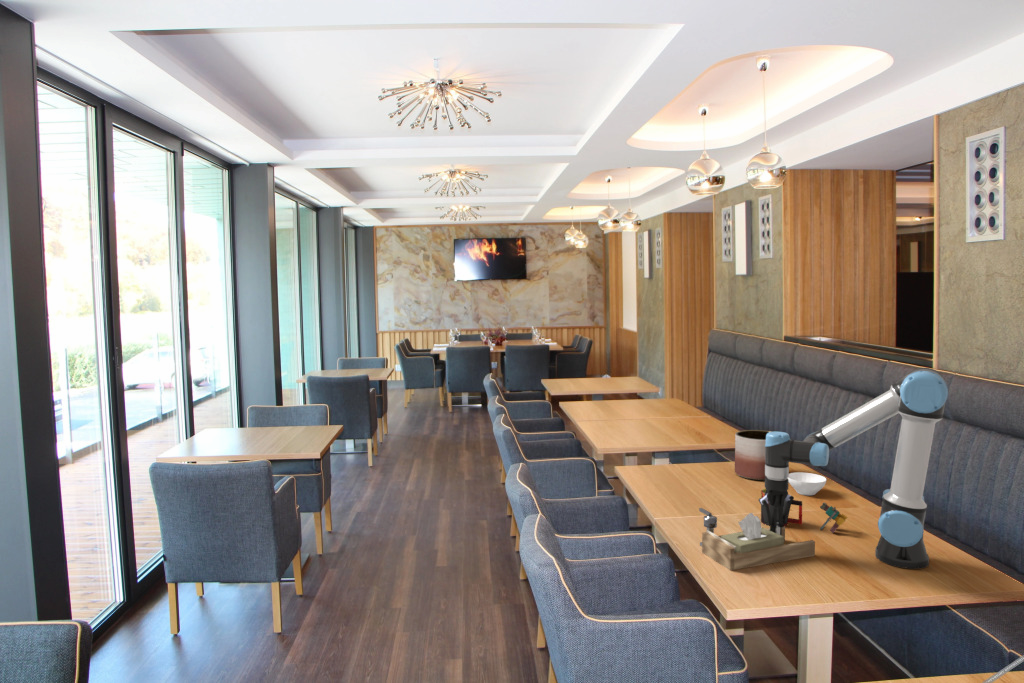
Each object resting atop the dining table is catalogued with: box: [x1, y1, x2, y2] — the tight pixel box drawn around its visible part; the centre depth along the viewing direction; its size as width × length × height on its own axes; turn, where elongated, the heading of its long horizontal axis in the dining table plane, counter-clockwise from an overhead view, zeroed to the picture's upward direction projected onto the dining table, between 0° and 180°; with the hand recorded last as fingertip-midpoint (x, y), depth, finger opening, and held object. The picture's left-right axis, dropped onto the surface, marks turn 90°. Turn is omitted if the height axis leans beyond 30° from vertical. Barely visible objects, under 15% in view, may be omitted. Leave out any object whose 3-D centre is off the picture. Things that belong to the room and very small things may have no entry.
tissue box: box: [721, 512, 785, 569], centre depth 217 cm, size 19×10×16 cm, turn 112°
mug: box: [760, 488, 803, 527], centre depth 249 cm, size 10×14×12 cm
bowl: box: [787, 471, 827, 496], centre depth 285 cm, size 16×16×7 cm
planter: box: [734, 429, 772, 482], centre depth 313 cm, size 22×22×20 cm
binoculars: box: [819, 502, 848, 534], centre depth 241 cm, size 9×9×10 cm
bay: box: [701, 526, 816, 571], centre depth 220 cm, size 15×34×8 cm, turn 108°
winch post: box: [698, 507, 718, 547], centre depth 229 cm, size 8×5×12 cm, turn 18°
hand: (775, 544), depth 223 cm, fingers closed
